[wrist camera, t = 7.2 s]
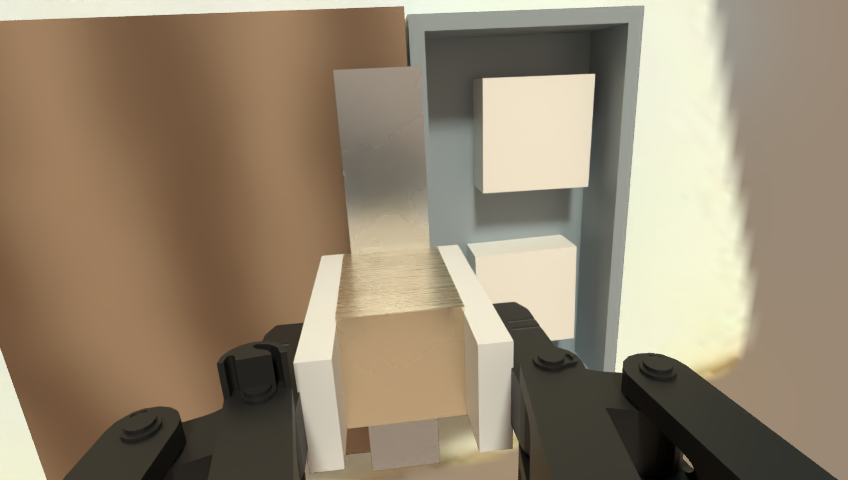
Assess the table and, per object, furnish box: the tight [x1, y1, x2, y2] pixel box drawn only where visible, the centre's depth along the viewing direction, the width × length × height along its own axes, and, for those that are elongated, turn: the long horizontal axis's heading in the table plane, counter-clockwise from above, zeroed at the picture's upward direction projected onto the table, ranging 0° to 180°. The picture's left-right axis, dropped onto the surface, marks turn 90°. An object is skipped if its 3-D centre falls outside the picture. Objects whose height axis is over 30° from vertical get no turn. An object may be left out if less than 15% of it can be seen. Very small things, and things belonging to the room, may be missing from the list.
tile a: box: [467, 235, 577, 341], centre depth 25 cm, size 5×5×2 cm
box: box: [405, 6, 644, 372], centre depth 23 cm, size 9×18×4 cm, turn 3°
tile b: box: [473, 74, 595, 193], centre depth 23 cm, size 5×5×2 cm
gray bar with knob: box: [333, 66, 467, 471], centre depth 15 cm, size 3×14×7 cm, turn 3°
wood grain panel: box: [0, 6, 407, 480], centre depth 21 cm, size 16×18×6 cm
